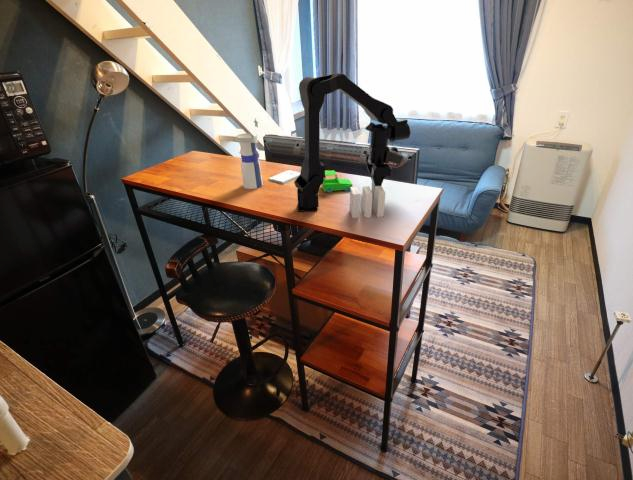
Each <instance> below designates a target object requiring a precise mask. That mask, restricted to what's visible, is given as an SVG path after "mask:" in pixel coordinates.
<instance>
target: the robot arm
mask: <svg viewBox="0 0 633 480" xmlns="http://www.w3.org/2000/svg"><path fill="white" fill-rule="evenodd" d="M298 85H299V86H298V91H299V98H300V102H301V105H302V108H303V111H304V158H303V161H302V164H301V167H300V175H299V176H298V178H296V179H294V180H293V184H294V186H295V188H297V189H296V192H297V212H317V211H318V208H319V192H320V189H321V187H322V184H323V182H324V178H325V179H327V177H326V176H325V171H326V164H324V163H323V162H321V160H320V140H321V139H320V131H321V130H320V128H321V127H320V126H321V125H320V124H321V121H320V118H321V114H320V113H321V110H322V108H323V105H324V102H325V97H326V96H327V95H329V94H332V93H334V92H336V91H339V92H340V93H342V94H344V95H345V96H346V97H347V98H348V99H350V100H351V101H353V102H354V103H355V104H357V105H358V106H360V107H361V108H362V109H363V111H364V113H365V115H367V116H368V117H369V118H370V119H371V120H372V121H373V122H371V121H370V123H369V124H368V125H367V126H366V127H365V130H366V131H368V132H370V144H369V145H368V148H369V151H368V152H366V153H364V162H365V165H366V168H367V171H368V173H369V176H370V178H371V180H372V178H373V181H374V184H375V186H382V184H383V182H384V179H385V178H386V177H392V176H393V170H394V169H393V168H392V167H391V165H389V163H393V164H396V165H398V166H401V164H402V162H403V159H404V157H405V156H404V155H403V153H401V152H399V150H398V148H397V147H396V146H392V147H391V148H390V147H389V145H388V144H389V141H390V142H400V141H406V140H408V139H409V138H410V136H411V128H410V125H409V123H408V119H406V118H401V119H397V118H396V115H395V114H394V109H393V107H392V106H391V105H389V104H387V103H386V102H384V101H381V100H379V99H376V98H374V97H372V95H370V94H369V93H368V92H366V91H365V90H364V89H362V88H361V87H360V86H358V84H356V83H354V81H352V80H351V79H349V77H347V75H345V73H342V72H341V73H340V72H334V73H331V74H328V75H322V76H318V77H317V76H316V77H311V76H305V77H304V78H302V80H301V81H300V82H299V84H298ZM374 121H375V122H376V124H375V123H374Z"/></svg>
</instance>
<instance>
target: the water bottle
mask: <svg viewBox="0 0 633 480" xmlns="http://www.w3.org/2000/svg"><path fill="white" fill-rule="evenodd" d="M253 122H254V126H255V127H256V128H259V126H258V123H259V122H258V121H257V118H256V117H255V118H254V120H253ZM258 139H259V138H258V134H256V135H254V136H252V133H249V132H247V133H246V132H245V133H240V134H236V137H235V139H234V140H235V142H236V143H239V145H240V150H239V154H240V157H241V158H240V159H241V162H240V167H241V175H242V177H241V178H242V187H243V188H244V189H246V190H256V189H259V188H262V187H263V186H264V183H263V178H262V170H261V169H262V168H261V162H260V160H259V158H260V153H259V150H258V149H257V144H259V140H258Z"/></svg>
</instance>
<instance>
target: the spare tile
mask: <svg viewBox="0 0 633 480" xmlns="http://www.w3.org/2000/svg"><path fill="white" fill-rule="evenodd" d="M371 191H372V197H375V184H374V181H373V178H372V179H371Z"/></svg>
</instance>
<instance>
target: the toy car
mask: <svg viewBox="0 0 633 480" xmlns="http://www.w3.org/2000/svg"><path fill="white" fill-rule="evenodd" d="M325 176H335V177H334V178H324V182H323V184H321V188H322V189H323V191H324V192H327V193H332V192H333V191H334V192H335V191H345V192H349V191H350V187H354V186H353V183H352V181H351V180H350V179H349V178H339V177H338V175H337V173H336V171H335V170H325Z"/></svg>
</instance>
